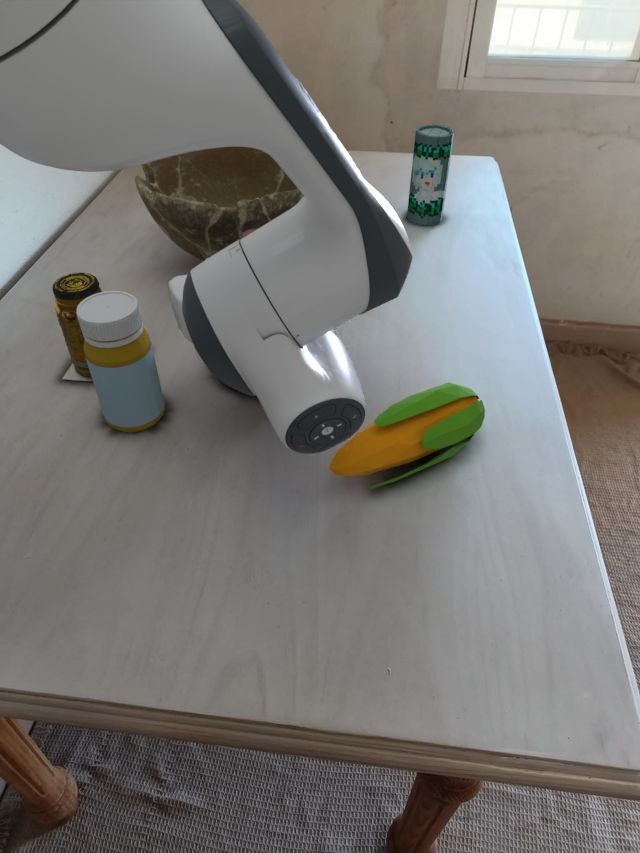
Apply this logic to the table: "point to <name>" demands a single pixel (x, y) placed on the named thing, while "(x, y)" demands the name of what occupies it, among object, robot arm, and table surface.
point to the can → (429, 174)
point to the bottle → (121, 360)
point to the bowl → (215, 196)
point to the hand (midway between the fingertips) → (254, 257)
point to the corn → (413, 432)
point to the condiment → (74, 318)
